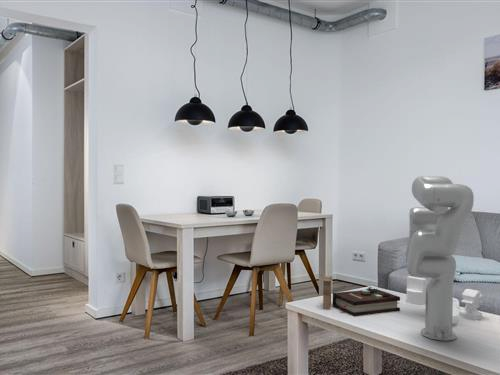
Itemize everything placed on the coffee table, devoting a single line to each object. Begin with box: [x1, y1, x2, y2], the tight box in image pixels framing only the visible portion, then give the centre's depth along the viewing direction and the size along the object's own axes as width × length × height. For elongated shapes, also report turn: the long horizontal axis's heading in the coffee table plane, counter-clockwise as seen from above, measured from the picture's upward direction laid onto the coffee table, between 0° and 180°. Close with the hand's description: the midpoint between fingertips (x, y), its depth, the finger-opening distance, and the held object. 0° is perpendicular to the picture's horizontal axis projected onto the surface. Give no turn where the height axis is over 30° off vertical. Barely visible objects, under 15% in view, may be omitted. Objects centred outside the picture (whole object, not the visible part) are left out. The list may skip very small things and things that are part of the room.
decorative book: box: [332, 286, 401, 317], centre depth 205 cm, size 19×8×30 cm
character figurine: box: [459, 288, 484, 321], centre depth 193 cm, size 9×10×12 cm
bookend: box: [322, 275, 333, 310], centre depth 208 cm, size 11×3×13 cm, turn 166°
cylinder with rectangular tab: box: [406, 275, 427, 306], centre depth 218 cm, size 9×9×12 cm
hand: (418, 276), depth 198 cm, fingers closed
